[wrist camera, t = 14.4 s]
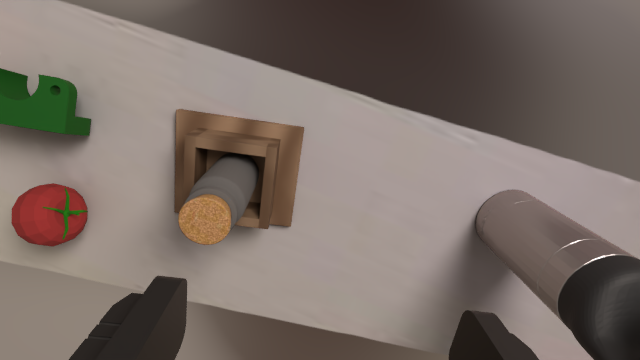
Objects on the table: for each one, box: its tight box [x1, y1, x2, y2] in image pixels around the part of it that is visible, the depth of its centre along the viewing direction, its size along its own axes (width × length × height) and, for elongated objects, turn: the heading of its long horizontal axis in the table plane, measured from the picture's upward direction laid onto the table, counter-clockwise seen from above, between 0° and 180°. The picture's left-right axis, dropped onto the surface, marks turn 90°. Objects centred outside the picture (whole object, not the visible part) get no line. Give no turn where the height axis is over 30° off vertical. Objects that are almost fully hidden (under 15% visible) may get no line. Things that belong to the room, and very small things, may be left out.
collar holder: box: [175, 109, 304, 229], centre depth 43 cm, size 16×14×6 cm
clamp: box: [0, 69, 91, 136], centre depth 40 cm, size 12×6×9 cm, turn 74°
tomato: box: [12, 183, 88, 246], centre depth 43 cm, size 8×8×8 cm
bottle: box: [178, 152, 259, 245], centre depth 38 cm, size 6×6×15 cm
